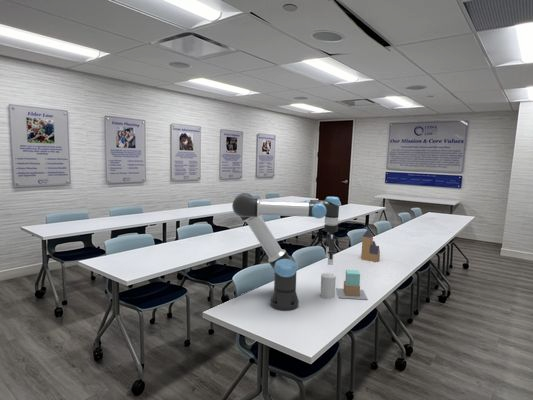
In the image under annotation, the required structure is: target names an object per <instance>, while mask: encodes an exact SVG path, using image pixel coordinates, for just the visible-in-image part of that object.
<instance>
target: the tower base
mask: <svg viewBox="0 0 533 400" xmlns="http://www.w3.org/2000/svg"><path fill="white" fill-rule="evenodd" d="M335 291H336V294H337V297H338V299H342V300H343V299H345V300H356V301H357V300H360V301H368V300H369V299H368V297H367V295H366V293H365V290H364V289H361V285H360V286H349V285H347V284H346V281H345V280H344V281H343V288H337V287H335Z"/></svg>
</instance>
